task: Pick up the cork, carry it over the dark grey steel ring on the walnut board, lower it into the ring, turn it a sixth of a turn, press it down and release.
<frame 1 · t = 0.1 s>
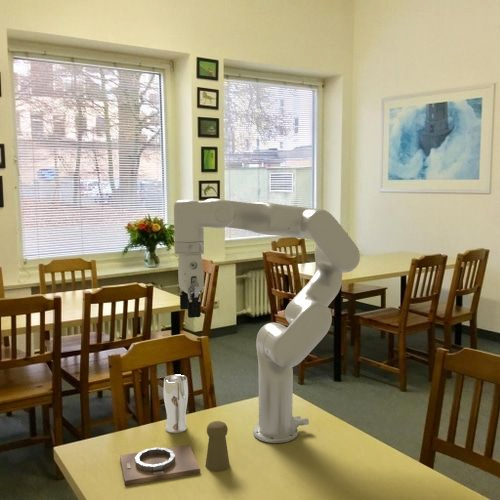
hand: (190, 312, 145), 37 cm above the table, tool pointing down, fingers open, 9 cm apart
cork: (217, 465, 139), on the table
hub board: (159, 466, 139), on the table
hub ring: (155, 466, 138), resting on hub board
beer glass: (176, 429, 160), on the table
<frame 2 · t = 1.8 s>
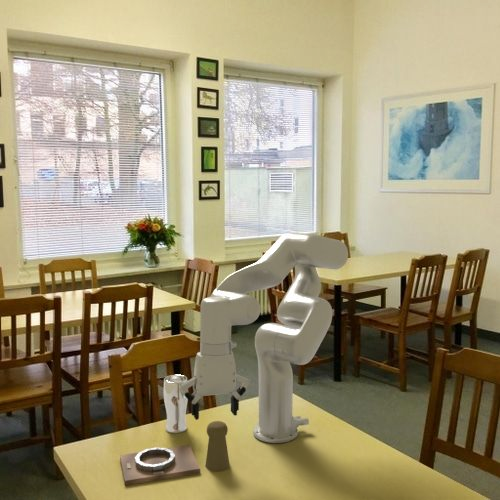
hand: (215, 415, 137), 13 cm above the table, tool pointing down, fingers open, 9 cm apart
nothing on the table moved.
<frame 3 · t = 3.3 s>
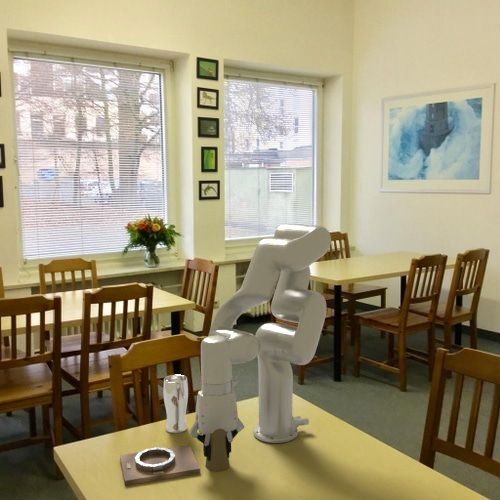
hand: (217, 456, 139), 2 cm above the table, tool pointing down, fingers closed on cork, 4 cm apart
cork: (217, 465, 139), on the table, touching gripper
everything else where it was.
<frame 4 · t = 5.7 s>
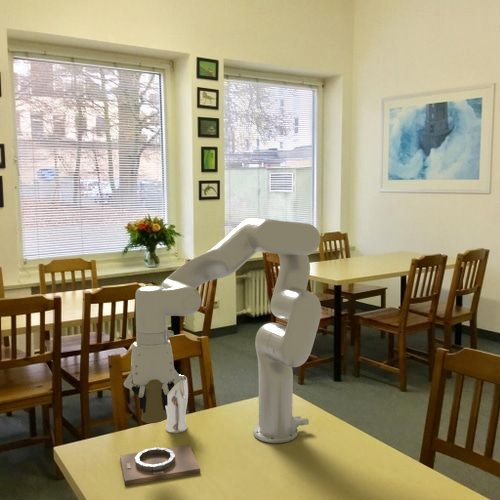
hand: (153, 409, 136), 15 cm above the table, tool pointing down, fingers closed on cork, 4 cm apart
cork: (153, 418, 137), point 13 cm above the table, touching gripper
everything else where it was.
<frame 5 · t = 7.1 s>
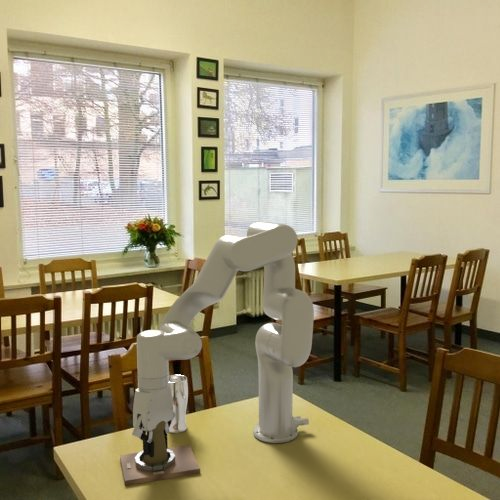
hand: (155, 451, 138), 4 cm above the table, tool pointing down, fingers closed on cork, 4 cm apart
cork: (156, 460, 138), point 2 cm above the table, touching gripper
everything else where it was.
when the fingers open (4 cm above the table, at t = 8.1 s): cork stays where it is, resting on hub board.
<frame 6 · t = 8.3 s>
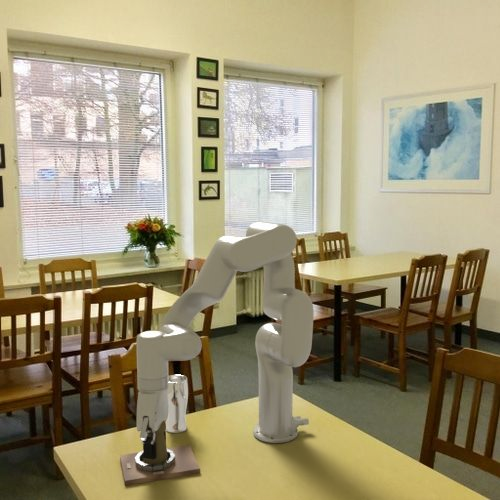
hand: (155, 451, 138), 4 cm above the table, tool pointing down, fingers open, 5 cm apart
cork: (156, 462, 138), point 1 cm above the table, touching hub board
everything else where it was.
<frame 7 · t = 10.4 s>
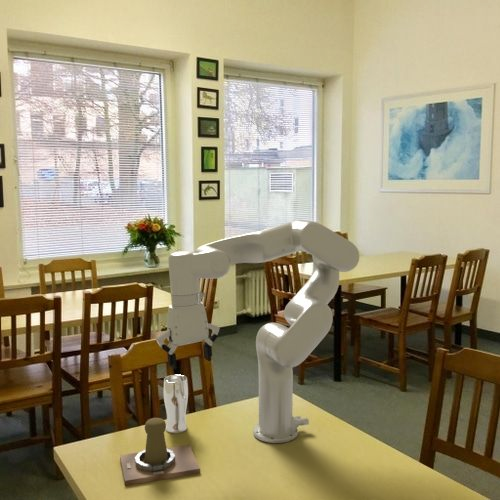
hand: (190, 363, 144), 24 cm above the table, tool pointing down, fingers open, 9 cm apart
nothing on the table moved.
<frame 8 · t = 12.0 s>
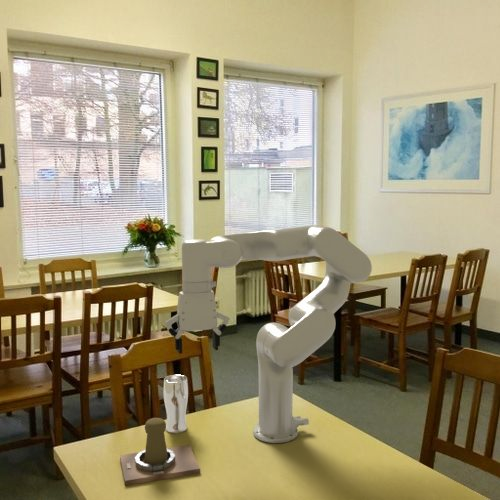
hand: (197, 350, 147), 26 cm above the table, tool pointing down, fingers open, 9 cm apart
nothing on the table moved.
at the end: cork 0.3 cm off-centre on the hub ring, point 1.0 cm above the hub ring's base; cork tilted 0°; the gripper is holding nothing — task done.
